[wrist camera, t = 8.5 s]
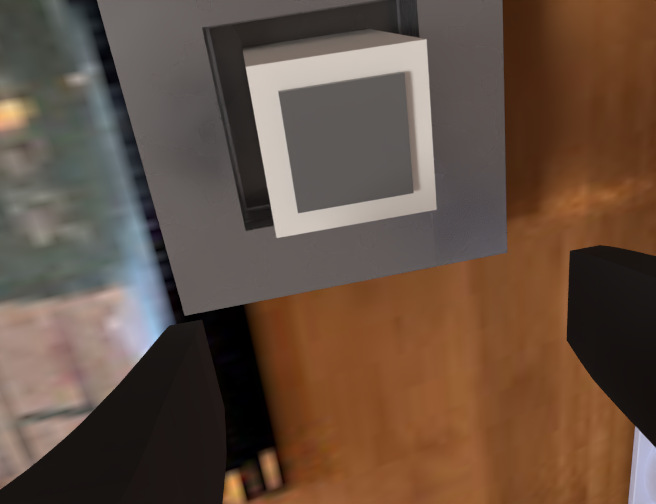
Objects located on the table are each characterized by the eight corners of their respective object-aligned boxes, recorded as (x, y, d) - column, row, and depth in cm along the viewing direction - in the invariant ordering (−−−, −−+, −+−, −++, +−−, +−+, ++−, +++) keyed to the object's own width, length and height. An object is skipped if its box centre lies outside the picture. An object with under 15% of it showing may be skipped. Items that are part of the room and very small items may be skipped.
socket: (466, -107, 18) (500, -123, 16) (479, 226, 22) (507, 252, 20) (100, -54, 17) (79, -63, 15) (189, 282, 21) (184, 315, 19)
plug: (369, 28, 18) (429, 39, 13) (381, 153, 20) (439, 212, 14) (242, 47, 18) (245, 67, 12) (264, 173, 20) (276, 241, 14)
